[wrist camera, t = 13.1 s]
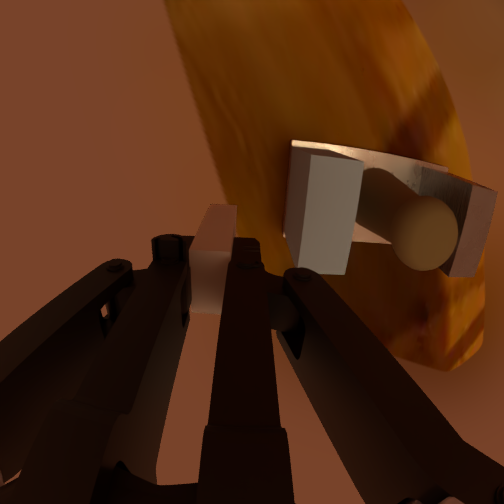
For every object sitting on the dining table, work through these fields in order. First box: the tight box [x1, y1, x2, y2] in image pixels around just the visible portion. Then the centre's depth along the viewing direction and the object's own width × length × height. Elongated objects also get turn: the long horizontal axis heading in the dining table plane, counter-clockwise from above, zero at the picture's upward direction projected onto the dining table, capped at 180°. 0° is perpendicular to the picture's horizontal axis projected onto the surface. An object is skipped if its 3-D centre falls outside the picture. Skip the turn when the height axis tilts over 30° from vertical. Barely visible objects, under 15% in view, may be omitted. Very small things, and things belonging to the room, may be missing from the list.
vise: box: [282, 140, 497, 277], centre depth 23 cm, size 9×17×9 cm, turn 86°
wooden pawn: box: [355, 168, 458, 271], centre depth 21 cm, size 6×6×11 cm
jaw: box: [284, 146, 364, 275], centre depth 22 cm, size 8×4×8 cm, turn 177°
